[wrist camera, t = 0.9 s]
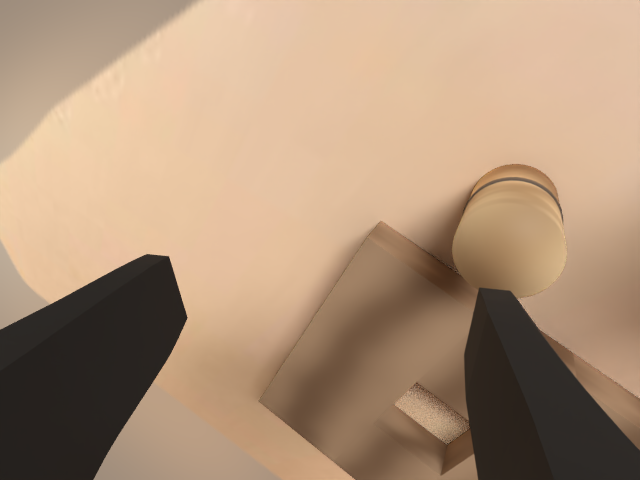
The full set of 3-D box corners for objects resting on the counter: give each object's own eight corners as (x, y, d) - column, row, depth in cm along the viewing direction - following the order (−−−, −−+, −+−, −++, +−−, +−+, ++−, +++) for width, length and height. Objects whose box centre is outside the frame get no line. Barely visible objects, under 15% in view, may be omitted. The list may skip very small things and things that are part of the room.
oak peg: (580, 194, 19) (596, 246, 14) (519, 255, 21) (516, 317, 16) (504, 147, 20) (494, 181, 15) (453, 211, 22) (430, 258, 17)
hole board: (698, 439, 21) (716, 482, 19) (479, 542, 31) (475, 577, 29) (381, 220, 24) (367, 237, 22) (274, 379, 34) (258, 401, 32)
